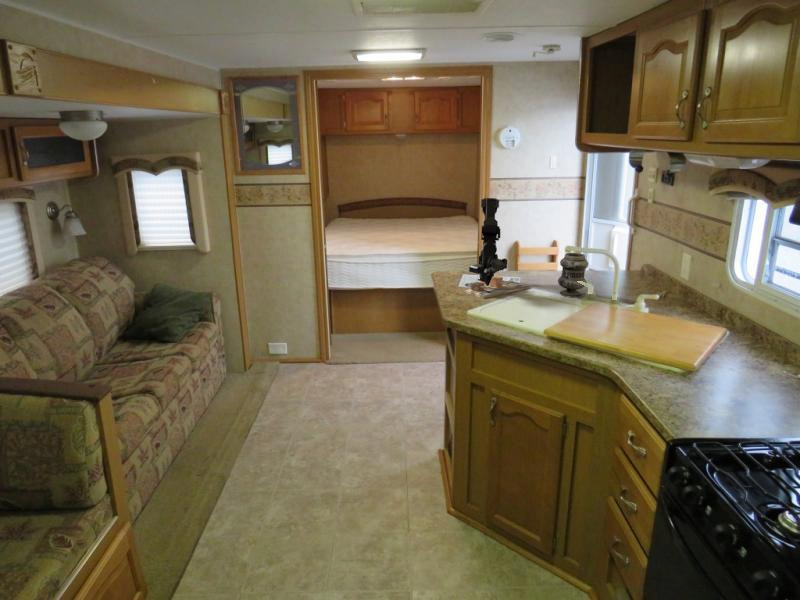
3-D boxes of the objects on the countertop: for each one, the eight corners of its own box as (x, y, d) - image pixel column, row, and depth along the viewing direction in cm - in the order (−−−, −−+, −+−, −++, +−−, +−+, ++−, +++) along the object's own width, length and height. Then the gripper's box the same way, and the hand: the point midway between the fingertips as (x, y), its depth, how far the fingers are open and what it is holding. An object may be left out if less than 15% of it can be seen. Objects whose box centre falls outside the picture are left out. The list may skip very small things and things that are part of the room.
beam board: (464, 292, 244) (464, 289, 243) (510, 282, 261) (510, 279, 261) (483, 298, 235) (483, 295, 234) (530, 287, 252) (530, 284, 252)
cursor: (489, 285, 251) (490, 276, 250) (495, 284, 254) (496, 275, 253) (505, 289, 244) (505, 281, 243) (511, 288, 246) (512, 279, 245)
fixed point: (470, 289, 244) (471, 283, 244) (477, 288, 247) (477, 281, 246) (486, 294, 237) (486, 287, 236) (492, 292, 240) (493, 286, 239)
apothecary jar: (570, 299, 234) (575, 258, 229) (551, 292, 244) (554, 253, 239) (591, 296, 239) (595, 255, 234) (571, 289, 250) (574, 250, 244)
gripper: (487, 257, 231) (485, 292, 236) (517, 252, 242) (514, 286, 247) (468, 252, 240) (467, 287, 244) (498, 248, 251) (496, 281, 255)
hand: (487, 285), depth 247 cm, fingers closed
